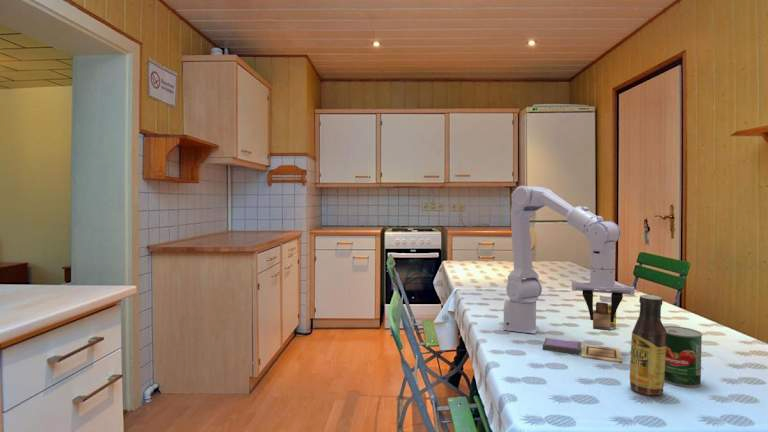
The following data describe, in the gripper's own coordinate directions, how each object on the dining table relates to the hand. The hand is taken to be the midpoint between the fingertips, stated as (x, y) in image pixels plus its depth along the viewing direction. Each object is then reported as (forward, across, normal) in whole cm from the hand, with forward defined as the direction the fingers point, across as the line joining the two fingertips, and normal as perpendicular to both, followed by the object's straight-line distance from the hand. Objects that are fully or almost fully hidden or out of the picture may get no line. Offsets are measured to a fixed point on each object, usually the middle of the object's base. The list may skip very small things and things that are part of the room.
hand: (601, 320), depth 117 cm
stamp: (+2, 0, 0) cm, 2 cm away
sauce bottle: (+9, +8, -22) cm, 25 cm away
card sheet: (+9, 0, 0) cm, 9 cm away
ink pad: (+9, -10, 0) cm, 13 cm away
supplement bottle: (+9, +2, +28) cm, 29 cm away
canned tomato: (+9, +16, -12) cm, 22 cm away
